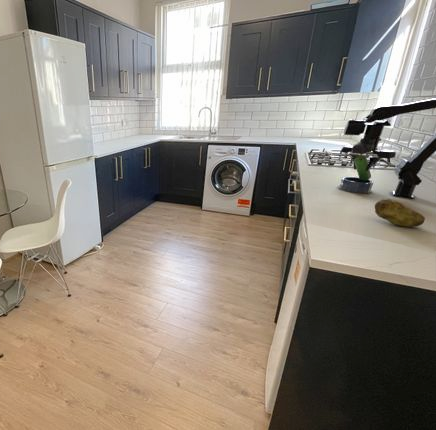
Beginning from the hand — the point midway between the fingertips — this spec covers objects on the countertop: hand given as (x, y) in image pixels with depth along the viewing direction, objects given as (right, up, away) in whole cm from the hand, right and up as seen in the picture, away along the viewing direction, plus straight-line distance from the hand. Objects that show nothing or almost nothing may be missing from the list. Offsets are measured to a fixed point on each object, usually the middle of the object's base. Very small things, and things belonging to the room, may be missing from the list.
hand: (360, 170), depth 131 cm
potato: (-18, -24, -33) cm, 45 cm away
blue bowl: (0, -9, +4) cm, 10 cm away
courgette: (+5, -3, +3) cm, 7 cm away
